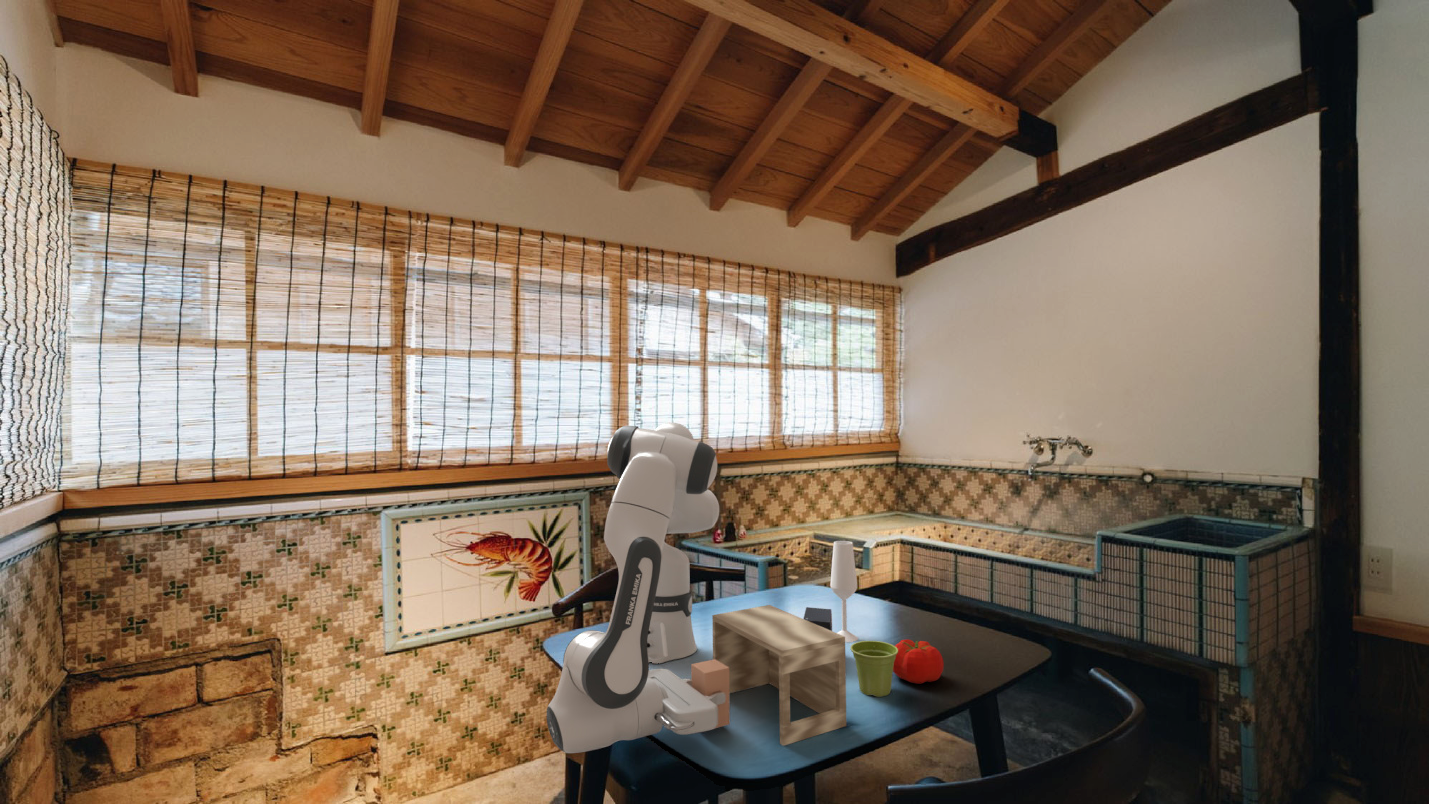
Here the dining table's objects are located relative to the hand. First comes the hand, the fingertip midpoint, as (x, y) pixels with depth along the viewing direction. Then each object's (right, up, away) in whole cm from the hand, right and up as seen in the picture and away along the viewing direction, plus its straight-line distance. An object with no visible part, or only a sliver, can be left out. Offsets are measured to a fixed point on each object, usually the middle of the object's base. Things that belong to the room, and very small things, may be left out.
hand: (714, 689), depth 119 cm
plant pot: (+33, -7, +15) cm, 36 cm away
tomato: (+43, -7, +21) cm, 48 cm away
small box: (+24, -7, +33) cm, 41 cm away
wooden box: (+12, -7, +7) cm, 15 cm away
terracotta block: (-1, -5, -1) cm, 6 cm away
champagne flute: (+33, -8, +47) cm, 58 cm away
